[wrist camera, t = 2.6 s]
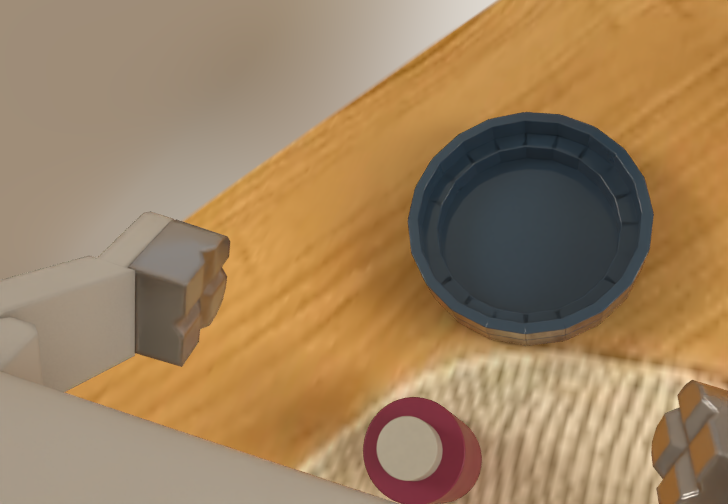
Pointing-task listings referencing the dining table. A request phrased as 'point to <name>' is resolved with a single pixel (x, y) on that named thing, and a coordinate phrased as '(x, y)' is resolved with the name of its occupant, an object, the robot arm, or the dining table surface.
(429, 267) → the bowl
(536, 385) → the dining table surface
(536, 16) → the dining table surface
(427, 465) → the yogurt bottle
